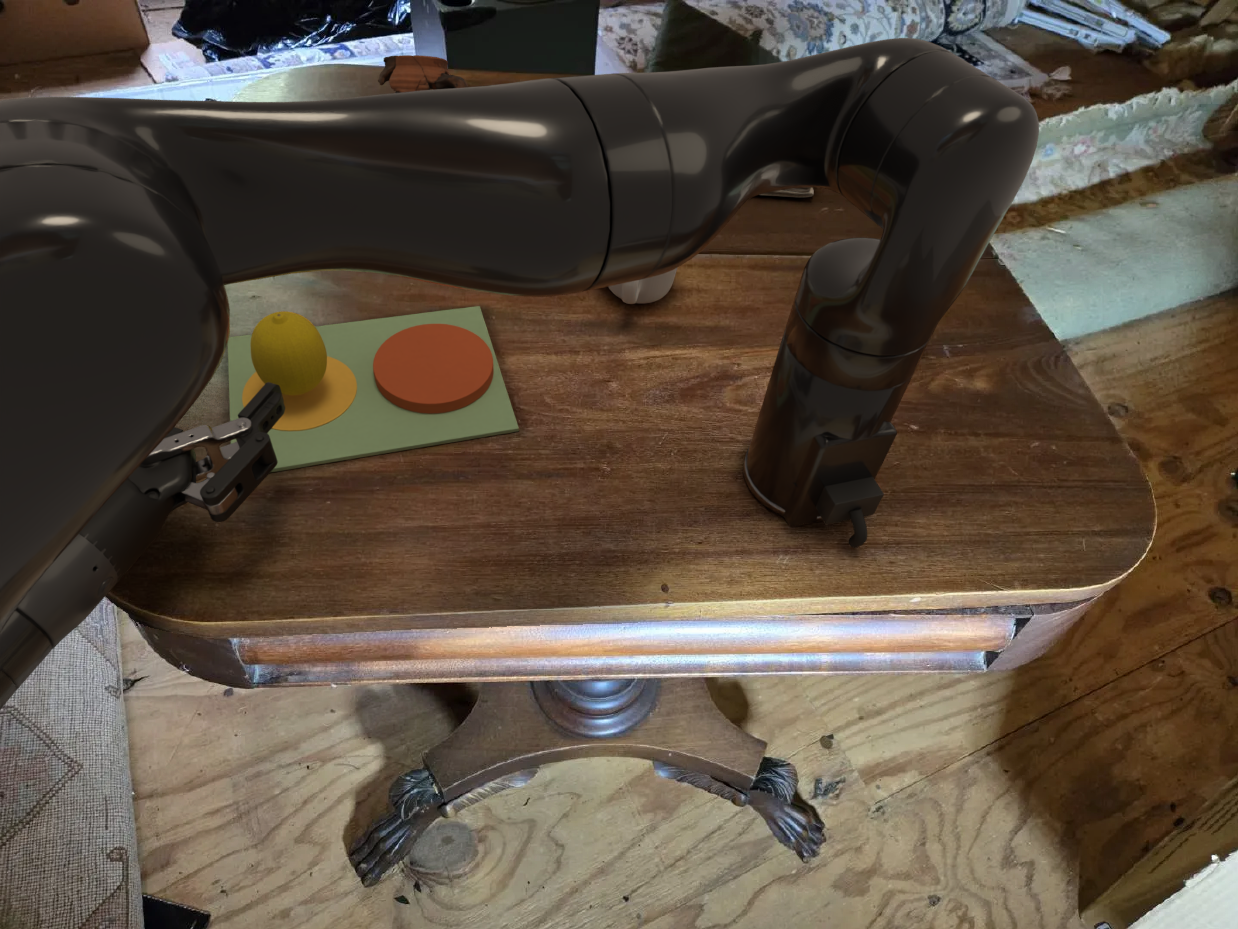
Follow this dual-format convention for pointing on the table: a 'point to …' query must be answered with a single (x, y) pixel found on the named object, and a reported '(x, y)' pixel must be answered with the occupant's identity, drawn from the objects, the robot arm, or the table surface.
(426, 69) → the pottery mug
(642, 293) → the cup
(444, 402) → the placemat
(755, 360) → the table surface
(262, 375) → the lemon
